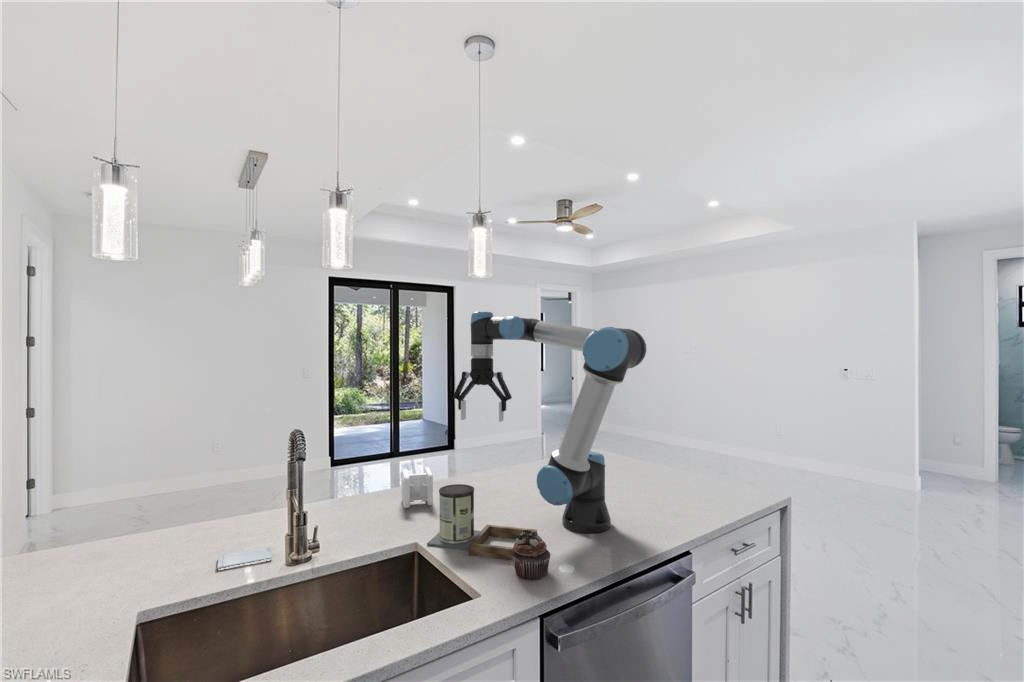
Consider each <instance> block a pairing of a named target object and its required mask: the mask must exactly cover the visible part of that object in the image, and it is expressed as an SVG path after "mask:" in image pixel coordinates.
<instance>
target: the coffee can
mask: <svg viewBox="0 0 1024 682" xmlns="http://www.w3.org/2000/svg"><path fill="white" fill-rule="evenodd" d="M438 493H439V532H440V537H439V539H440V540H441V541H443V542H445V543H450V544H460V543H465V542H468V541H470V540H472V539H473V538H474V530H475V505H474V504H475V488H474V486H472V485H469V484H463V483H461V484H460V483H458V484H448V485H444V486H442V487H440V488H439V489H438Z"/></svg>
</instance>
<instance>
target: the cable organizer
mask: <svg viewBox="0 0 1024 682" xmlns="http://www.w3.org/2000/svg"><path fill="white" fill-rule="evenodd" d="M400 478H401V499H402V506H403V508H404V509H409V508H410V506H411V503H415V501H422V503H423V502H426V504H427V506H429V507H430V506H432V505H433V504H434V476H433V472H432V471H431V468H430V467H429V466H425V467H424V470H423V473H411V474H410V473H409V470H408V469H407V468H405V469H403V468H402V469H401V471H400Z"/></svg>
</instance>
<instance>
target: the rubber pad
mask: <svg viewBox="0 0 1024 682" xmlns="http://www.w3.org/2000/svg"><path fill="white" fill-rule="evenodd" d="M480 532H481V530H476V529H474V538H475V537H476V536H477V535H478V534H479V533H480ZM439 537H440V531H439V532H438V533H437V534H436V535H435V536H434V537H432V538H431V539H430V540H429V541H427V542H426V546H429V547H430V546H431V547H436V548H437V547H438V548H445V549H454V550H461V549H462V550H463V551H468V544H469V543H470V542H471V541H472V540H473V539H474V538H473V539H472V540H470V541H468V542H465V543H460V544H450V543H445V542H443V541H441V540H440V539H439ZM462 550H461V551H462Z"/></svg>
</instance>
